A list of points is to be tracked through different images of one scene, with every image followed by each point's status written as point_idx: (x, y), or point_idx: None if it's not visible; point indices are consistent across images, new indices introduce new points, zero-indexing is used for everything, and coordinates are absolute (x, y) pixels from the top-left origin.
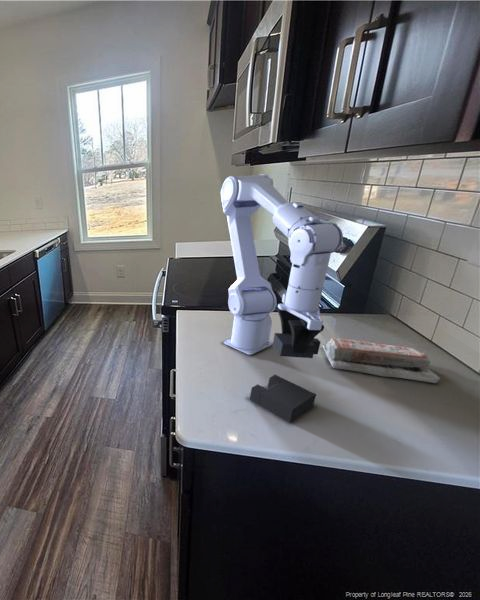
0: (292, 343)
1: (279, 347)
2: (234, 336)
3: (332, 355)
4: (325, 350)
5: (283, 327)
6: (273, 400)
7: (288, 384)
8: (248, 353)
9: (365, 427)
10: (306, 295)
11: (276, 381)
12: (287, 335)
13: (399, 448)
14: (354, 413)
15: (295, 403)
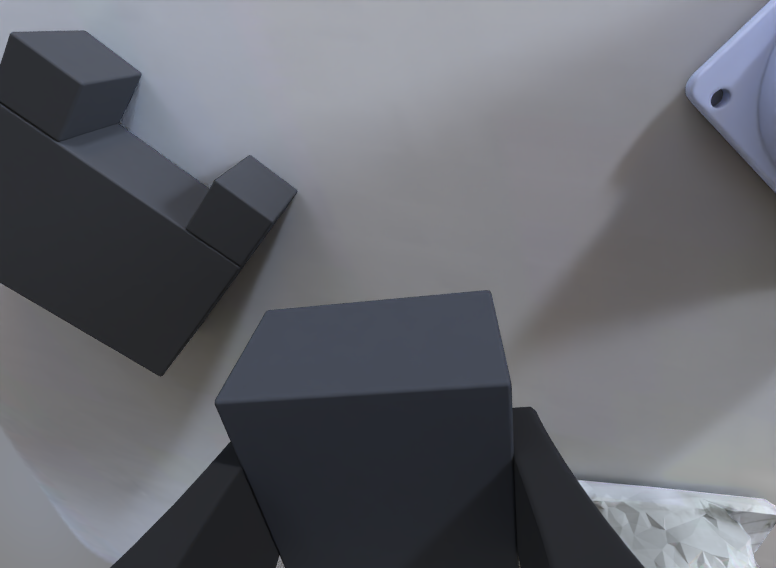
0: (197, 490)
1: (295, 344)
2: None
3: (620, 521)
4: (714, 504)
5: (535, 529)
6: None
7: (186, 276)
8: (699, 74)
9: (158, 444)
10: None
11: (193, 216)
12: (460, 481)
13: (103, 482)
14: (227, 442)
15: (11, 272)
